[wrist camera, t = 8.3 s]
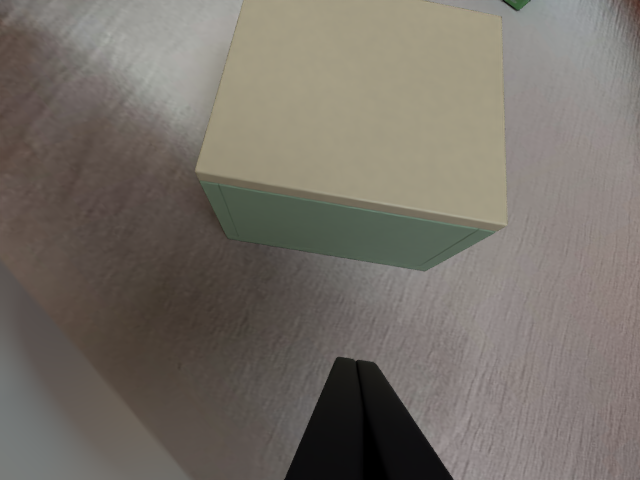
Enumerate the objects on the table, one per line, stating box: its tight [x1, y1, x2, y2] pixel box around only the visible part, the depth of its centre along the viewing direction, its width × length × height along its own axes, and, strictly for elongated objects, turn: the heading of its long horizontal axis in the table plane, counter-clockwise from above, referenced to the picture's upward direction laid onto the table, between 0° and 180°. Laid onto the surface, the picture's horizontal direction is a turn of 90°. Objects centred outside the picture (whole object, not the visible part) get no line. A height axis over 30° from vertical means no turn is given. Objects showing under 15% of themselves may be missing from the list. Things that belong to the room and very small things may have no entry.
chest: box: [200, 180, 496, 271], centre depth 20 cm, size 11×13×8 cm
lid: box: [195, 0, 508, 231], centre depth 16 cm, size 11×13×1 cm
